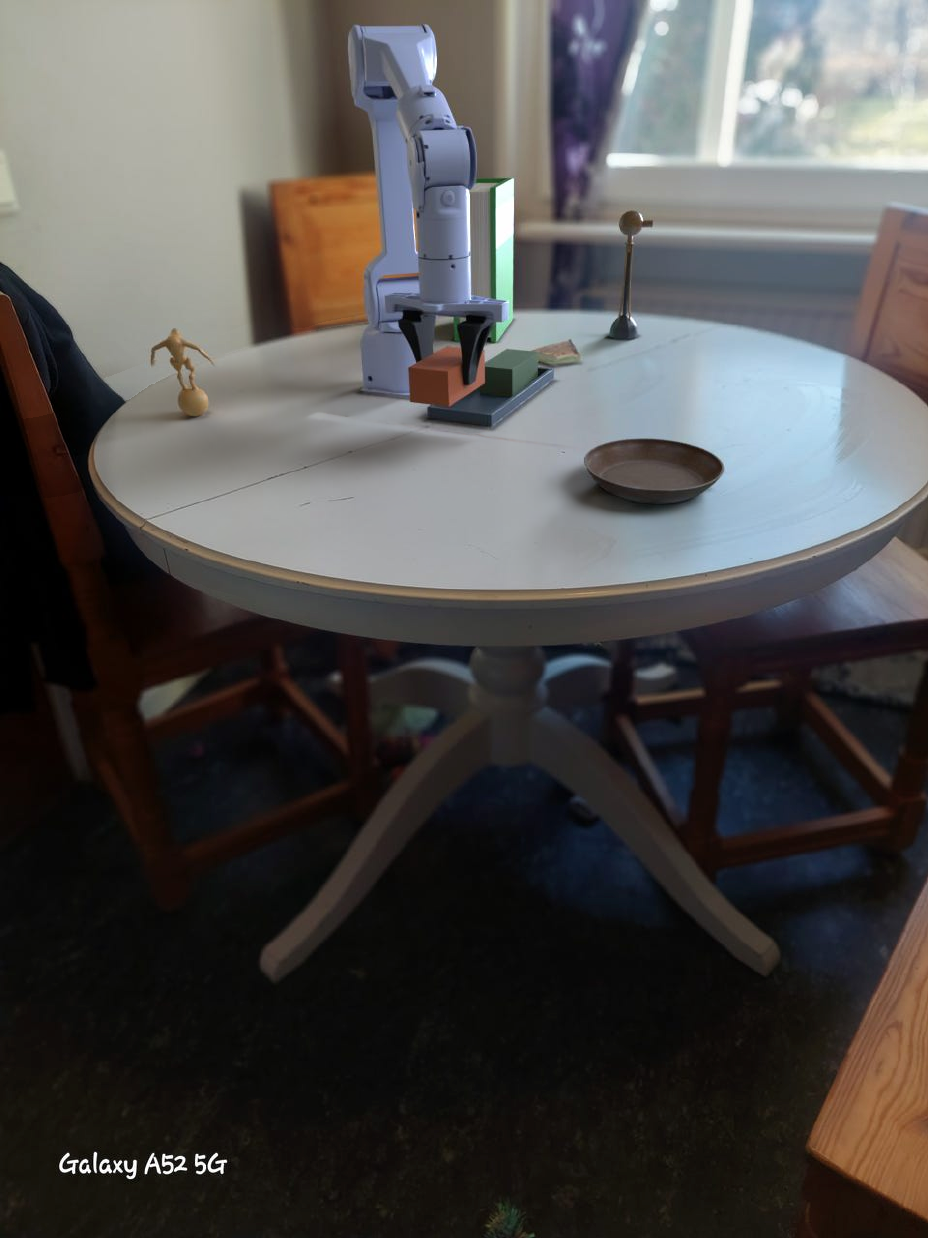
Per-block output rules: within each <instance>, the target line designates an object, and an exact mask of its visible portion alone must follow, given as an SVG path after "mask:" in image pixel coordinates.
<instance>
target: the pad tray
mask: <svg viewBox="0 0 928 1238" xmlns="http://www.w3.org/2000/svg"><path fill="white" fill-rule="evenodd" d="M554 375H555V368H551V367H542V366H538V378H536V379H535V380H534V381H532V382H531V383H530V384H528V385H527V386H526V387H524V388H523V389H521V390H520V391H519V392H517V393H516V394H515V395H513V396H512V397H511V398H509V397H500V396H492V395H483V394H480V387H478V388H477V389H475V390H474V391H472V392H471V393H469V394H468V395H466V396H465V397H463V398H462V399H460V400H459V401H457V402H456V403H454V404H453V405H451V406H450V407H445V406H437V405H428V406H426V407H427V408H426V409H427V419H428V420H437V421H445V422H450V423H459V424H466V425H474V426H482V427H489V428H492V427H494V426H495V425H496V424H497V423H499V422H500V421H502V420H503V419H504V418H505V417H507V416H508V415H509V414H511V413H512V412H513V411H514V410H516V409H517V408H518V407H519V406H521V405H522V404H523V403H525V402H526V401H527V400H529V399H530V398H531V397H532V396H534V395H535V394H536V393H537V392H539V391H541V390H542V389H543V388H544V387H545V386H547V385H548V384H549V383H551V382H552V381H553V380H554V377H555V376H554Z"/></svg>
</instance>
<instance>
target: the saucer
mask: <svg viewBox="0 0 928 1238" xmlns="http://www.w3.org/2000/svg"><path fill="white" fill-rule="evenodd" d="M583 464H584V466H585V468H586V470H587V472H588V473H589V475H590V476H591V477H592V478H593V480H594V481H595V482H596V483H597V484H598V485H599V486H601V487H602V488H603V489H604V490H606V491H607V492H608V493H610V494H611V495H613V496H616V497H618V498H621V499H623V500H626V501H631V502H636V503H641V504H642V503H643V504H651V505H653V504H654V505H665V504H675V503H680V502H685V501H689V500H691V499H693V498H696V497H698V496H699V495H702V493H704V492H706V491H707V490H709V489H710V488H711V487H712V486H714V485H715V484H716V482H718V481H719V480H720V478H721V477H722V476H723V474H724V473H725V470H726V469H725V464H724V462H723V461H722V459H720V458H719V457H718V456H717V455H715V454H714V453H713V452H711V451H709V450H707V449H705V448H702V447H699V446H697V445H694V444H690V443H687V442H682V441H677V440H670V439H664V438H650V437H649V438H648V437H647V438H646V437H644V438H642V437H641V438H640V437H639V438H625V439H617V440H613V441H612V440H611V441H608V442H605V443H602V444H599V445H597V446H595V447H593V448H591V449H590V450H588V451H587V452H586V453H585V455H584V458H583Z"/></svg>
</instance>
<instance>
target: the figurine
mask: <svg viewBox="0 0 928 1238" xmlns="http://www.w3.org/2000/svg"><path fill="white" fill-rule="evenodd" d="M163 348H166V349H167V350H168V352H169V354H170V355H171V356H172V357H170V358H169V362H170V365H171V366H172V367H173V369H174V371H176V372H177V374H176V379H177V380H178V383H179V385H180V388H181V390H180V391H179V394H178V396H177V404H178V408H179V409H180V410H181V412H183V413H184V414H185V415H187V416H190V417H199V416H201V415H203V414H204V413H206V411H207V410H208V407H209V402H210V401H209V397H208V394H207V393H206V391H204V389H202V388H201V387H198V385H197V384H195V383H194V379H195V372H196V371H195V370H196V367H195V366H194V364H193V363H192V359H191V358H190V357H189V356H187V357H186V358H185V350H186V348H188V349H191V350H195V351H198V353H199V354H200V355H202V356H203V358H205V359H207V360H208V361H209V362H210V363H211V365H212V366H213V367H214V366H215V364H214V362H213V360H212V358H211V357H210V356H209V355H208V354H207V353H206V352H205V351H203V349H202V348H201V347H199V346H198V345H196V344H194V343H192V342H190V341H187V340H185V339H183V337H181V335H180V331H179V330H178V329H177V328H172V329H171V331H170V334H169V335H168V337H167V338H165V339H163V340H162V341H160V342H159V343H157V344H156V345H155V344H154V346H152V348H151V349H150V352H151V354H150V366H151V367H154V366H156V363H155V362H157V361H156V360H155V358H156V351H158V350H160V349H163ZM183 366H184V368H185V370H187V371H189V372H190V373H189V375H188V379H189V384H190V385H189V386H188V385H186V384H185V383H184V381H183V374H182V368H183Z"/></svg>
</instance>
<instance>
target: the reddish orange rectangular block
mask: <svg viewBox="0 0 928 1238" xmlns="http://www.w3.org/2000/svg"><path fill="white" fill-rule="evenodd" d="M485 351H486V350H485V349H483V351H482V355H481V358H480V362H479V366H478V370H477V376H476V381H475V382H473V383H472V384H470V385H464V382H463V374H462V352H461V346H451V345H449V346H448V345H447V346H445V347H443V348H441V349H439V350H437V351H436V352H434V354H432V355H430V356H428V357H426V358H424V359H423V360H421V361H419V362H417V363H415V364H413V365H412V366H410V367H408V373H409V392H410V397H409V402H410V403H413V404H423V405H428V406H430V405H437V406H445V407H450V406H451V405H453V404H454V403H456V402H457V401H459V400H460V399H462V398H463V397H465V396H466V395H468V394H469V393H471V392H472V391H474V390H475V389H477V388H478V387H480V386H481V385H483V384H484V383H485V362H486V359H485V358H486V357H485V356H486V355H485Z"/></svg>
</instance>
